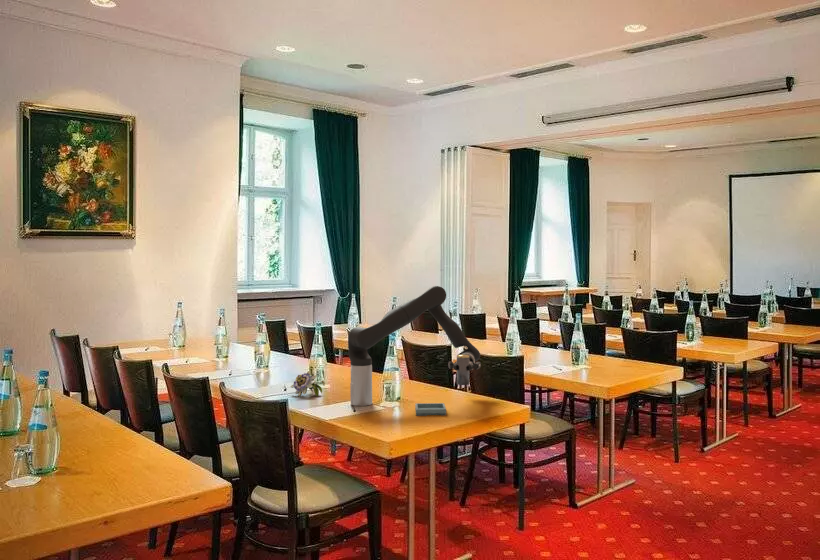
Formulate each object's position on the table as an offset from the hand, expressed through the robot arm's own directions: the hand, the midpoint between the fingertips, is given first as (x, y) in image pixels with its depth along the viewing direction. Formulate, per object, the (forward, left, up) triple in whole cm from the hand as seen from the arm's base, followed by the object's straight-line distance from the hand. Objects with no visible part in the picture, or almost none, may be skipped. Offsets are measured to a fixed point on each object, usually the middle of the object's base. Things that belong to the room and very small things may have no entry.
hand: (462, 368), depth 298 cm
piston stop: (0, +3, -7) cm, 7 cm away
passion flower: (-68, +38, -18) cm, 80 cm away
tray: (-13, -2, -18) cm, 22 cm away
